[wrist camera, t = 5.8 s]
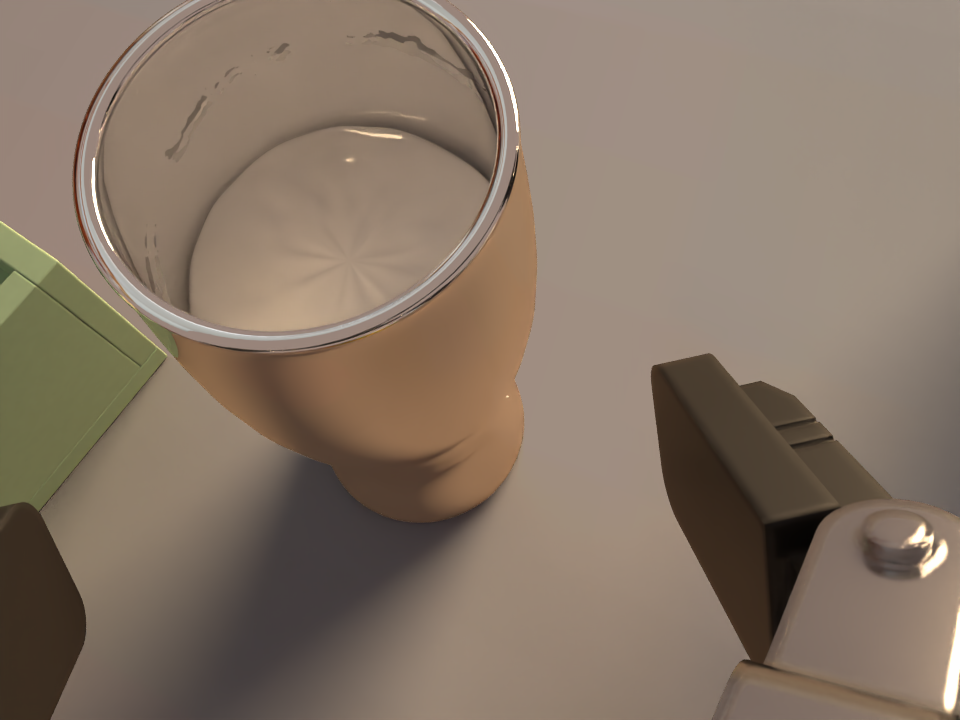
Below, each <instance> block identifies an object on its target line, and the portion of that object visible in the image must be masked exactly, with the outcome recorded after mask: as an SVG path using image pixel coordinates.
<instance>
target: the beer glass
mask: <svg viewBox="0 0 960 720" xmlns="http://www.w3.org/2000/svg"><path fill="white" fill-rule="evenodd" d="M72 187H73V201H74V208H75V213H76V218H77V222H78V226H79V229H80V232H81V235H82V238H83V240H84V243H85V245H86V248H87V250H88V252H89V254H90V256H91V258H92V260H93V261H94V263H95V265H96V267H97V268H98V270H99V271H100V273H101V274H102V276H103V277H104V278H105V280H106V281H107V282H108V284H109V285H110V286H111V287H112V289H113V290H114V291H115V292H116V293H117V294H118V295H119V296H120V297H121V298H122V299H123V300H124V301H125V302H126V303H127V304H128V305H129V306H131V307H132V308H133V309H134V310H135V311H136V312H137V313H138V314H139V315H140V317H141V318H142V319H143V320H144V322H145V323H146V324H147V325H148V327H149V328H150V329H151V330H152V332H153V333H154V334H155V335H156V337H157V338H158V339H159V340H160V341H161V342H162V344H163V345H164V346H165V347H166V348H167V349H168V351H169V352H170V353H171V354H172V355H173V356H174V358H175V359H176V360H177V361H178V362H179V363H180V364H181V366H182V367H183V368H184V369H185V370H186V371H187V372H188V373H189V374H190V375H191V376H192V377H193V378H194V379H195V380H196V381H197V382H198V383H199V384H200V385H201V386H202V387H203V388H204V389H205V390H206V391H207V392H208V393H209V394H210V395H211V396H212V397H213V398H214V399H215V400H217V401H218V402H219V403H220V404H221V405H222V406H223V407H224V408H226V409H227V410H228V411H230V412H231V413H232V414H234V415H235V416H236V417H238V418H239V419H240V420H242V421H243V422H244V423H246V424H247V425H249V426H250V427H251V428H253V429H254V430H255V431H257V432H258V433H260V434H261V435H263V436H264V437H266V438H267V439H269V440H271V441H273V442H275V443H276V444H278V445H281V446H283V447H285V448H287V449H290V450H292V451H294V452H297V453H299V454H301V455H304V456H306V457H308V458H311V459H313V460H316V461H319V462H322V463H325V464H329V465H331V466H332V468H333V470H334V472H335V474H336V476H337V477H338V479H339V480H340V482H341V483H342V485H343V486H344V487H345V489H346V490H347V491H348V492H349V493H350V494H351V495H352V496H353V497H354V498H355V499H356V500H357V501H359V502H360V503H361V504H363V505H364V506H366V507H367V508H369V509H370V510H372V511H374V512H376V513H378V514H380V515H383V516H385V517H388V518H391V519H395V520H399V521H405V522H415V523H425V522H435V521H441V520H445V519H449V518H452V517H455V516H458V515H460V514H463V513H465V512H467V511H469V510H471V509H473V508H474V507H476V506H477V505H479V504H480V503H482V502H483V501H485V500H486V499H487V498H488V497H489V496H491V495H492V494H493V493H494V492H495V491H496V490H497V489H498V487H499V486H500V485H501V484H502V483H503V482H504V480H505V479H506V477H507V476H508V474H509V473H510V471H511V469H512V468H513V466H514V464H515V462H516V459H517V457H518V454H519V451H520V448H521V444H522V440H523V433H524V411H523V404H522V400H521V396H520V393H519V390H518V387H517V384H516V382H515V380H514V379H515V377H516V375H517V373H518V370H519V368H520V365H521V362H522V359H523V356H524V352H525V349H526V345H527V342H528V339H529V335H530V332H531V328H532V323H533V318H534V311H535V298H536V282H537V249H536V236H535V223H534V213H533V206H532V200H531V194H530V188H529V182H528V175H527V170H526V165H525V160H524V155H523V150H522V146H521V128H520V117H519V110H518V105H517V100H516V96H515V92H514V89H513V86H512V83H511V80H510V78H509V75H508V73H507V71H506V69H505V67H504V64H503V63H502V61H501V59H500V57H499V55H498V54H497V52H496V50H495V49H494V47H493V46H492V44H491V43H490V41H489V40H488V39H487V37H486V36H485V35H484V34H483V32H482V31H481V30H480V29H479V28H478V27H477V26H476V25H475V23H474V22H473V21H472V20H470V19H469V18H468V17H467V16H466V15H465V14H464V13H463V12H462V11H460V10H459V9H458V8H457V7H455V6H454V5H453V4H452V3H450V2H449V1H447V0H186V1H185V2H183V3H182V4H180V5H178V6H177V7H175V8H174V9H172V10H171V11H169V12H168V13H167V14H165V15H164V16H162V17H161V18H160V19H158V20H157V21H156V22H155V23H153V24H152V25H151V26H150V27H149V28H147V29H146V30H145V31H144V32H143V33H142V34H141V35H140V36H139V37H138V38H137V39H136V40H135V41H134V42H133V43H132V44H131V45H130V46H129V47H128V48H127V49H126V50H125V51H124V52H123V54H122V55H121V56H120V57H119V58H118V60H117V61H116V62H115V63H114V65H113V66H112V67H111V69H110V70H109V72H108V73H107V75H106V76H105V78H104V79H103V81H102V82H101V84H100V86H99V88H98V89H97V91H96V93H95V95H94V97H93V98H92V101H91V103H90V105H89V107H88V109H87V112H86V114H85V117H84V120H83V123H82V125H81V129H80V132H79V135H78V140H77V144H76V149H75V154H74V162H73V175H72Z"/></svg>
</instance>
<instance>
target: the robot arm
mask: <svg viewBox="0 0 960 720" xmlns="http://www.w3.org/2000/svg"><path fill="white" fill-rule="evenodd" d="M651 384H652V393H653V401H654V409H655V417H656V425H657V433H658V441H659V450H660V458H661V466H662V473H663V478H664V483H665V487H666V491H667V495H668V498H669V501H670V505H671V507H672V510H673V513H674V515H675V517H676V519H677V521H678V523H679V525H680V527H681V529H682V531H683V532H684V534H685V536H686V538H687V540H688V542H689V544H690V546H691V548H692V550H693V551H694V553H695V555H696V557H697V559H698V561H699V563H700V565H701V567H702V568H703V570H704V572H705V574H706V576H707V578H708V580H709V582H710V584H711V586H712V587H713V589H714V591H715V593H716V595H717V597H718V599H719V601H720V603H721V604H722V606H723V608H724V610H725V612H726V614H727V616H728V618H729V620H730V622H731V623H732V625H733V627H734V629H735V631H736V633H737V635H738V637H739V639H740V641H741V642H742V644H743V646H744V648H745V650H746V652H747V654H748V656H749V658H750V659H751V660H742V661H741V662H739V664H738V665H737V666H736V667H735V669H734V671H733V672H732V674H731V676H730V678H729V680H728V682H727V685H726V687H725V689H724V692H723V694H722V696H721V699H720V701H719V703H718V706H717V708H716V710H715V713H714V715H713V717H712V720H960V518H958V517H957V516H955V515H953V514H951V513H949V512H947V511H945V510H942V509H940V508H938V507H935V506H931V505H928V504H925V503H921V502H915V501H910V500H902V499H893V498H892V497H891V496H890V495H889V494H888V493H887V492H886V491H885V490H884V489H883V488H882V487H881V485H880V484H879V483H878V482H877V481H876V480H875V479H874V478H873V477H872V476H871V475H870V474H869V473H868V472H867V471H866V470H865V469H864V468H863V467H862V466H861V465H860V464H859V463H858V461H857V460H856V459H855V458H854V457H853V456H852V455H851V454H850V453H849V452H848V451H847V450H846V449H845V448H844V447H843V446H842V445H841V444H840V443H839V442H838V441H837V440H836V441H834V439H833V435H832V434H831V433H830V432H829V431H828V430H827V429H826V428H825V427H824V426H823V425H822V424H821V423H820V422H816V418H815V417H814V416H813V414H812V413H811V412H810V411H809V410H808V409H807V408H806V407H805V406H804V405H803V404H802V403H801V402H800V401H799V400H798V399H797V398H796V397H795V396H794V395H791V394H789V393H787V392H785V391H782V390H780V389H778V388H775V387H773V386H771V385H769V384H766V383H764V382H762V381H759V382H754V383H750V384H745V385H741V386H739V385H738V384H737V383H736V381H735V380H734V379H733V378H732V377H731V376H730V374H729V373H728V372H727V371H726V370H725V368H724V367H723V366H722V365H721V364H720V363H719V361H718V360H717V359H716V358H715V357H714V356H713V355H712V354H710V353H708V354H704V355H699V356H694V357H690V358H685V359H681V360H676V361H672V362H667V363H662V364H658V365H654V366H653V367H652V370H651ZM85 635H86V615H85V609H84V604H83V601H82V598H81V596H80V594H79V591H78V589H77V587H76V585H75V583H74V581H73V579H72V577H71V575H70V573H69V571H68V569H67V567H66V565H65V563H64V561H63V559H62V557H61V555H60V553H59V551H58V549H57V547H56V544H55V542H54V540H53V538H52V536H51V534H50V532H49V530H48V528H47V526H46V524H45V522H44V520H43V518H42V516H41V515H40V513H39V512H38V510H37V509H36V508H35V507H34V506H32V505H31V504H29V503H26V502H20V503H15V504H11V505H6V506H2V507H0V720H50V719H51V716H52V714H53V712H54V710H55V708H56V705H57V703H58V701H59V699H60V696H61V694H62V692H63V690H64V688H65V685H66V683H67V681H68V679H69V676H70V674H71V672H72V670H73V667H74V665H75V663H76V661H77V659H78V656H79V654H80V652H81V650H82V647H83V644H84V641H85Z"/></svg>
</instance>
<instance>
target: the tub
mask: <svg viewBox="0 0 960 720" xmlns="http://www.w3.org/2000/svg"><path fill="white" fill-rule="evenodd" d="M166 357H167V354H165V353H164V352H163V351H162V350H161V349H160V348H158V347H157V346H156V345H155V344H154V343H153V342H151V341H150V340H149V339H148V338H147V337H146V336H145V335H143V334H142V333H141V332H140V331H139V330H138V329H136V328H135V327H134V326H133V325H132V324H131V323H129V322H128V321H127V320H126V319H125V318H124V317H123V316H121V315H120V314H119V313H118V312H117V311H116V310H114V309H113V308H112V307H111V306H110V305H109V304H108V303H106V302H105V301H104V300H103V299H102V298H101V297H99V296H98V295H97V294H96V293H95V292H94V291H92V290H91V289H90V288H89V287H88V286H87V285H86V284H84V283H83V282H82V281H81V280H80V279H79V278H77V277H76V276H75V275H74V274H73V273H72V272H71V271H69V270H68V269H67V268H66V267H65V266H64V265H62V264H61V263H60V262H59V261H58V260H56V259H55V258H53V257H52V256H50V255H49V254H48V253H46V252H45V251H43V250H42V249H40V248H39V247H37V246H36V245H34V244H33V243H32V242H30V241H29V240H27V239H26V238H24V237H23V236H21V235H20V234H18V233H17V232H16V231H14V230H13V229H11V228H10V227H8V226H7V225H5V224H4V223H2V222H1V221H0V507H2V506H6V505H11V504H15V503H20V502H26V503H29V504H31V505H32V506H34V507H35V508H36V509H37V510H38V512H39V511H40V509H41V508H42V507H43V506H44V504H45V503H46V502H47V501H48V500H49V498H50V497H51V496H52V495H53V494H54V492H55V491H56V490H57V489H58V488H59V486H60V485H61V484H62V483H63V482H64V480H65V479H66V478H67V477H68V476H69V474H70V473H71V472H72V471H73V469H74V468H75V467H76V466H77V465H78V463H79V462H80V461H81V460H82V459H83V457H84V456H85V455H86V454H87V453H88V451H89V450H90V449H91V448H92V447H93V445H94V444H95V443H96V442H97V441H98V439H99V438H100V437H101V436H102V434H103V433H104V432H105V431H106V430H107V428H108V427H109V426H110V425H111V424H112V422H113V421H114V420H115V419H116V418H117V416H118V415H119V414H120V413H121V412H122V410H123V409H124V408H125V407H126V406H127V404H128V403H129V402H130V401H131V399H132V398H133V397H134V396H135V395H136V393H137V392H138V391H139V390H140V389H141V387H142V386H143V385H144V384H145V383H146V381H147V380H148V379H149V378H150V377H151V375H152V374H153V373H154V372H155V371H156V369H157V368H158V367H159V366H160V364H161V363H162V362H163V361H164V360H165V358H166Z"/></svg>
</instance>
